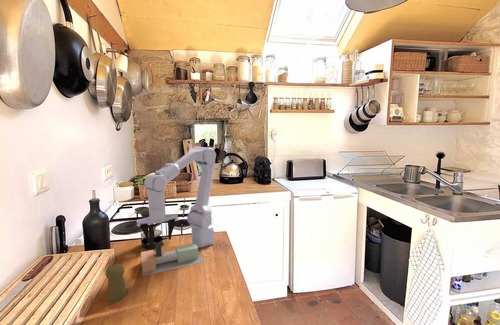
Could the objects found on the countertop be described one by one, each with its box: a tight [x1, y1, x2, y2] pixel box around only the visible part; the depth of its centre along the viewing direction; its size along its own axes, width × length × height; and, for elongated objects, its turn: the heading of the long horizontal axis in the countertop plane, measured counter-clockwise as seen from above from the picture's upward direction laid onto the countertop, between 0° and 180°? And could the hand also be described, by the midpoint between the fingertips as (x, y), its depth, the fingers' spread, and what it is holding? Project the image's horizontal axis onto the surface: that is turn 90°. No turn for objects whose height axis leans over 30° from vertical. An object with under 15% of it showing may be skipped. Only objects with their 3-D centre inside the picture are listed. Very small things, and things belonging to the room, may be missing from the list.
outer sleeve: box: [175, 243, 199, 262], centre depth 108 cm, size 8×4×4 cm, turn 115°
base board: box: [140, 252, 204, 277], centre depth 106 cm, size 22×12×1 cm, turn 115°
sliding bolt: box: [154, 242, 178, 264], centre depth 104 cm, size 14×3×7 cm, turn 115°
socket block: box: [140, 249, 156, 273], centre depth 102 cm, size 4×8×4 cm, turn 25°
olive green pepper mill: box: [105, 263, 128, 303], centre depth 85 cm, size 6×6×11 cm
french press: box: [138, 195, 168, 251], centre depth 118 cm, size 12×9×23 cm
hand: (159, 240), depth 102 cm, fingers open, 7 cm apart
